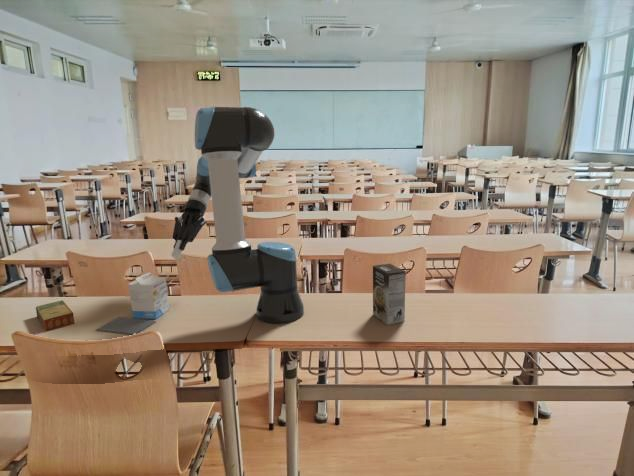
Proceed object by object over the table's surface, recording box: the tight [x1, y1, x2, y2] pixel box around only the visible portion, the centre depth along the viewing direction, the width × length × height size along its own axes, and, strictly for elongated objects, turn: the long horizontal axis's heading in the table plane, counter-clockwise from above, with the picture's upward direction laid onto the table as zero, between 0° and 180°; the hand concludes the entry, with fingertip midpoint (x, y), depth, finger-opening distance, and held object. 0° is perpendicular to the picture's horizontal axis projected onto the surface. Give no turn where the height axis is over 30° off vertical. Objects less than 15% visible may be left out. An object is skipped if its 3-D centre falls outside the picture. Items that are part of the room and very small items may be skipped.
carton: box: [35, 300, 76, 332], centre depth 138 cm, size 8×16×4 cm, turn 41°
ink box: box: [128, 271, 170, 320], centre depth 139 cm, size 9×8×13 cm
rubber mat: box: [96, 316, 156, 335], centre depth 131 cm, size 14×9×1 cm
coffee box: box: [372, 263, 407, 326], centre depth 129 cm, size 9×6×16 cm
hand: (174, 257), depth 153 cm, fingers closed
